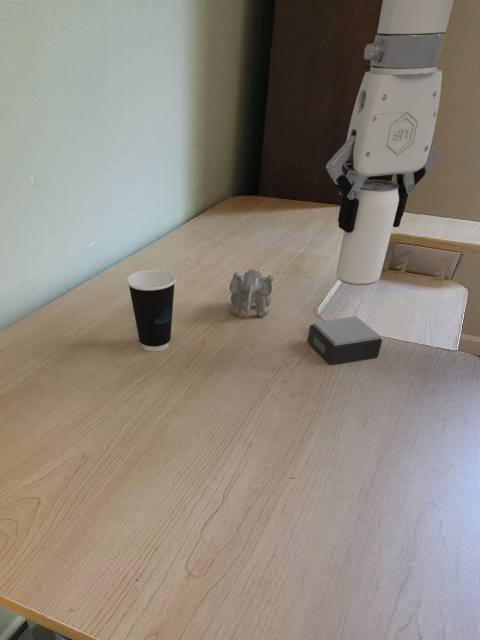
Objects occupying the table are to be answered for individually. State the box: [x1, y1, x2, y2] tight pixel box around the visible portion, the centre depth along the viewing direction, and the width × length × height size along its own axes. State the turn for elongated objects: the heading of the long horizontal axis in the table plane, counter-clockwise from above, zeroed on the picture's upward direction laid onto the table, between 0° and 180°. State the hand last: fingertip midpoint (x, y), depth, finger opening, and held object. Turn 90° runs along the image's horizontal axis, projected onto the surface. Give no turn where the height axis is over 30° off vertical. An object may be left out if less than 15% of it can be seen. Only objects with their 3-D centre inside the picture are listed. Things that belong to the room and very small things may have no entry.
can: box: [335, 179, 399, 286], centre depth 74 cm, size 6×6×12 cm
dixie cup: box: [126, 269, 177, 353], centre depth 86 cm, size 8×8×11 cm
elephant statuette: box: [229, 269, 274, 318], centre depth 94 cm, size 9×12×8 cm
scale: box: [307, 315, 383, 366], centre depth 86 cm, size 9×9×4 cm
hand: (368, 225), depth 73 cm, fingers closed on can, 6 cm apart
